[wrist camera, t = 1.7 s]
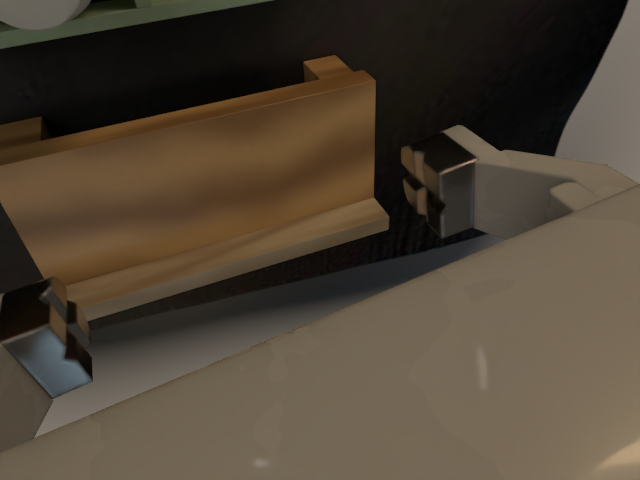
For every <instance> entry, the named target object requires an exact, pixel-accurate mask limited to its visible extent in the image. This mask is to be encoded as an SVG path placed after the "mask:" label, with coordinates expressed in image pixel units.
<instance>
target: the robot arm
mask: <svg viewBox="0 0 640 480" xmlns="http://www.w3.org/2000/svg"><path fill="white" fill-rule="evenodd" d="M401 162H402V164H403V165H404V166H405V167H406V168H407V169H408V170H407V172H406V174H405V176H404V178H403V183H404V191H405V193H406V196H407V199H408V201H409V203H410V205H411V206H412V208H413V209H414V210H415V211H416V212H417V213H418V214H422V215H426V216H427V224H428V225H429V226H430V227H431V228H432V229H433V230H434V231H435V232H436V233H437V234H438V235H439V236H440V237H441V238H445V237H447V236H450V235H453V234H455V233H458V232H461V231H463V230H466V229H469V228H471V227H474V228H475V229H478V230H481V231H483V232H486V233H489V234H492V235H494V236H497V237H500V238H503V239H505V241H503V242H501V243H498V244H496V245H493V246H491V247H489V248H486V249H484V250H481V251H479V252H477V253H474V254H472V255H470V256H467V257H465V258H463V259H460V260H458V261H455V262H453V263H451V264H448V265H446V266H444V267H441V268H439V269H436V270H434V271H431V272H429V273H427V274H424V275H422V276H420V277H417V278H415V279H412V280H410V281H408V282H405V283H403V284H401V285H399V286H396V287H393V288H391V289H389V290H386V291H384V292H382V293H379V294H377V295H374V296H372V297H370V298H367V299H365V300H362V301H360V302H358V303H355V304H353V305H351V306H348V307H346V308H343V309H341V310H339V311H336V312H334V313H332V314H329V315H327V316H324V317H322V318H320V319H317V320H315V321H312V322H310V323H308V324H305V325H303V326H301V327H298V328H296V329H293V330H291V331H289V332H286V333H284V334H282V335H279V336H277V337H274V338H272V339H270V340H267V341H265V342H263V343H260V344H258V345H255V346H253V347H251V348H248V349H246V350H243V351H241V352H239V353H236V354H234V355H231V356H229V357H227V358H224V359H222V360H220V361H217V362H215V363H213V364H210V365H208V366H205V367H203V368H200V369H198V370H196V371H193V372H191V373H189V374H186V375H184V376H182V377H179V378H177V379H174V380H172V381H169V382H167V383H165V384H163V385H160V386H158V387H155V388H153V389H150V390H148V391H146V392H143V393H141V394H138V395H136V396H134V397H132V398H129V399H127V400H124V401H122V402H119V403H117V404H115V405H112V406H110V407H108V408H105V409H103V410H101V411H99V412H96V413H93V414H91V415H89V416H86V417H84V418H82V419H79V420H77V421H74V422H72V423H69V424H67V425H65V426H62V427H60V428H57V429H55V430H53V431H50V432H48V433H46V434H43V435H41V436H38V437H36V438H34V436H35V435H36V433H37V431H38V429H39V427H40V425H41V423H42V421H43V419H44V417H45V416H46V414H47V412H48V410H49V408H50V406H51V404H52V402H53V400H52V399H54V398H56V397H58V396H61V395H63V394H65V393H67V392H70V391H72V390H74V389H77V388H79V387H81V386H83V385H86V384H88V383H90V382H92V381H93V376H92V358H91V356H90V355H89V353H88V352H87V351H86V350H87V348H88V347H89V345H90V344H91V333H90V329H89V326H88V322H87V320H86V318H85V316H84V314H83V312H82V310H81V309H80V307H79V306H78V304H77V303H74V302H72V301H69V300H67V289H66V287H65V286H64V285H63V284H62V282H61V281H60V280H59V278H57V277H55V276H52V277H49V278H46V279H44V280H41V281H38V282H35V283H32V284H29V285H26V286H23V287H21V288H18V289H15V290H12V291H9V292H6V293H5V294H0V480H640V184H639V183H637V182H635V181H634V180H632V179H630V178H628V177H627V176H625V175H623V174H622V173H620V172H618V171H617V170H615V169H613V168H612V167H610V166H608V165H606V164H599V163H592V162H586V161H579V160H572V159H565V158H558V157H552V156H545V155H538V154H531V153H524V152H518V151H511V150H504V151H501V152H500V151H498V150H497V149H495V148H494V147H493V146H491V145H490V144H488V143H487V142H485V141H484V140H483V139H481V138H480V137H478V136H477V135H475V134H474V133H472V132H471V131H470V130H468V129H467V128H465V127H464V126H461V125H457V126H454V127H452V128H449V129H447V130H444V131H442V132H440V133H438V134H435V135H433V136H430V137H428V138H425V139H423V140H420V141H418V142H415V143H412V144H410V145H407V146H405V147H402V151H401ZM33 438H34V439H33Z"/></svg>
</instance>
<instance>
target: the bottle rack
mask: <svg viewBox="0 0 640 480" xmlns="http://www.w3.org/2000/svg"><path fill="white" fill-rule="evenodd" d="M267 1H273V0H106V1H100V2H94V3H89V5H88V6H87V7H86V8H85V9H84V10H83V11H82V12H81V13H80V14H79V15H78V16H76V17H75V18H73V19H71V20H70V21H67V22H65V23H63V24H62V25H60V26H58V27H56V28H52V29H48V30H41V31H31V30H24V29H20V28H16V27H13V26H11V25H9V24H6V23H4V22H2V21H0V49H2V48H8V47H13V46H19V45H25V44H30V43H36V42H42V41H47V40H53V39H58V38H64V37H70V36H75V35H81V34H87V33H92V32H98V31H104V30H109V29H115V28H120V27H126V26H132V25H137V24H143V23H149V22H154V21H160V20H166V19H171V18H177V17H182V16H188V15H194V14H199V13H205V12H211V11H216V10H222V9H227V8H233V7H239V6H244V5H250V4H256V3H261V2H267Z"/></svg>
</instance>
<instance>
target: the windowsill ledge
mask: <svg viewBox="0 0 640 480" xmlns="http://www.w3.org/2000/svg"><path fill="white" fill-rule="evenodd" d="M303 65H304V78H305V83H301V84H297V85H292V86H288V87H283V88H279V89H274V90H270V91H265V92H261V93H256V94H252V95H247V96H242V97H238V98H233V99H229V100H224V101H220V102H215V103H211V104H206V105H202V106H197V107H193V108H188V109H183V110H179V111H174V112H170V113H165V114H161V115H156V116H152V117H147V118H143V119H138V120H134V121H129V122H124V123H120V124H115V125H111V126H106V127H102V128H97V129H93V130H88V131H84V132H79V133H75V134H70V135H66V136H61V137H56V138H51V136H50V134H49V132H48V129H47V127H46V125H45V123H44V120H43V118H42V117H36V118H32V119H27V120H22V121H17V122H12V123H8V124H3V125H0V202H1V204H2V206H3V208H4V209H5V211H6V213H7V215H8V216H9V218H10V220H11V221H12V223H13V225H14V227H15V228H16V230H17V232H18V234H19V235H20V237H21V239H22V241H23V242H24V244H25V246H26V248H27V249H28V251H29V253H30V255H31V256H32V258H33V260H34V262H35V263H36V265H37V267H38V269H39V270H40V272H41V274H42V276H43V277H44V279H46V278H49V277H52V276H55V277H57V278H59V280H60V281H61V282H62V284H63V285H64V286H65V287H66V289H67V300H69V301H72V302H74V303H77V304H78V306H79V307H80V309H81V310H82V312H83V314H84V316H85V318H86V320H87V321H89V320H92V319H96V318H99V317H102V316H106V315H109V314H112V313H115V312H119V311H122V310H125V309H129V308H132V307H135V306H138V305H142V304H145V303H148V302H152V301H155V300H158V299H161V298H165V297H168V296H171V295H175V294H178V293H181V292H184V291H188V290H191V289H194V288H198V287H201V286H204V285H207V284H211V283H214V282H217V281H221V280H224V279H227V278H230V277H234V276H237V275H240V274H244V273H247V272H250V271H253V270H257V269H260V268H263V267H267V266H270V265H273V264H276V263H280V262H283V261H286V260H290V259H293V258H296V257H299V256H303V255H306V254H309V253H313V252H316V251H319V250H322V249H326V248H329V247H332V246H336V245H339V244H342V243H345V242H349V241H352V240H355V239H359V238H362V237H365V236H368V235H372V234H375V233H378V232H382V231H385V230H388V229H389V216H388V214H387V213H386V212H385V211H384V209H383V208H382V207H381V206H380V204H379V203H378V202H377V201H376V199H375V198H374V152H375V94H376V81H375V80H374V79H373V78H372V77H371V76H370V75H369V74H368V73H367V72H365V71H364V70H360V71H356V72H353V71H352V70H351V69H350V68H349V67H348V66H347V65H345V64H344V63H343V62H342V61H341V60H340V59H339V58H338V57H337V56H336V55H333V56H328V57H323V58H319V59H314V60H309V61H304V62H303Z"/></svg>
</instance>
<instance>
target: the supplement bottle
mask: <svg viewBox="0 0 640 480" xmlns="http://www.w3.org/2000/svg"><path fill="white" fill-rule="evenodd" d="M90 2H91V0H0V21H2V22H4V23H6V24H9V25H11V26H13V27H16V28H20V29H24V30H31V31H41V30H48V29H52V28H56V27H58V26H60V25H62V24H63V23H65V22H67V21H70V20H71V19H73V18H75V17H76V16H78V15H79V14H80V13H81V12H82V11H83V10H84V9H85V8H86V7H87V6H88V5H89V3H90Z"/></svg>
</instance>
